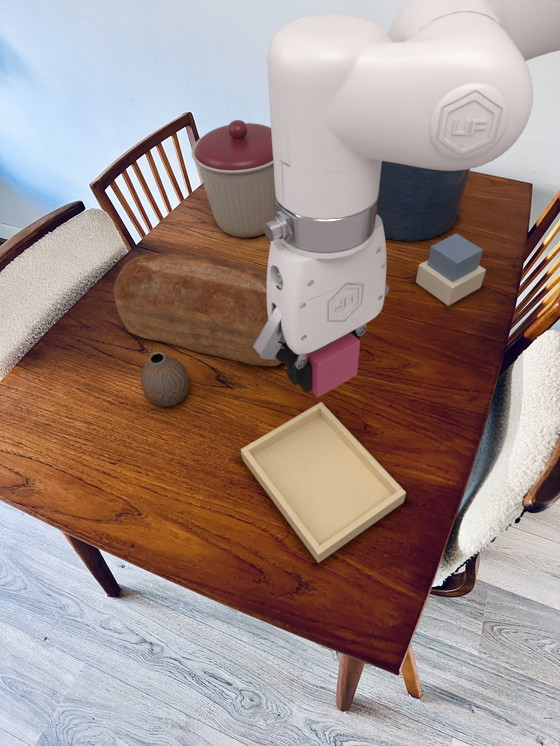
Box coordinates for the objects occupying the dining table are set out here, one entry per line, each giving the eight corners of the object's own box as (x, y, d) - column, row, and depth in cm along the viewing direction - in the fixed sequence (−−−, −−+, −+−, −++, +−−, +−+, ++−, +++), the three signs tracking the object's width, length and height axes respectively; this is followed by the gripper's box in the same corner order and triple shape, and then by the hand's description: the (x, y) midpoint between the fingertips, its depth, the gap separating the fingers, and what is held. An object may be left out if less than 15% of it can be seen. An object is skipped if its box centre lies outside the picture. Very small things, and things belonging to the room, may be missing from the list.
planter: (337, 231, 105) (340, 132, 90) (368, 177, 118) (375, 82, 103) (448, 252, 99) (471, 149, 84) (468, 192, 112) (491, 94, 97)
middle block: (477, 268, 89) (483, 249, 86) (452, 282, 87) (457, 263, 84) (451, 252, 93) (456, 233, 90) (427, 265, 91) (430, 246, 88)
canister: (188, 229, 109) (165, 127, 93) (246, 191, 117) (235, 92, 101) (251, 260, 101) (238, 155, 85) (309, 217, 109) (307, 114, 93)
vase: (201, 393, 80) (191, 355, 73) (167, 421, 77) (152, 384, 70) (173, 371, 83) (160, 333, 76) (138, 397, 80) (122, 359, 73)
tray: (403, 502, 66) (406, 492, 64) (318, 563, 62) (318, 554, 60) (321, 412, 76) (321, 401, 74) (242, 459, 72) (240, 449, 70)
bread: (285, 380, 81) (281, 317, 70) (116, 337, 89) (90, 275, 79) (310, 327, 88) (309, 263, 78) (151, 293, 96) (132, 230, 86)
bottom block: (480, 287, 92) (486, 269, 89) (448, 306, 89) (452, 288, 86) (447, 265, 97) (451, 247, 94) (415, 282, 94) (418, 264, 91)
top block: (357, 375, 53) (360, 340, 49) (317, 398, 51) (317, 364, 47) (327, 346, 56) (328, 311, 52) (289, 367, 54) (287, 333, 50)
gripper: (257, 283, 34) (273, 436, 48) (444, 196, 40) (411, 355, 54) (203, 231, 39) (233, 385, 52) (379, 159, 44) (364, 315, 58)
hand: (323, 368), depth 53 cm, fingers closed on top block, 5 cm apart
